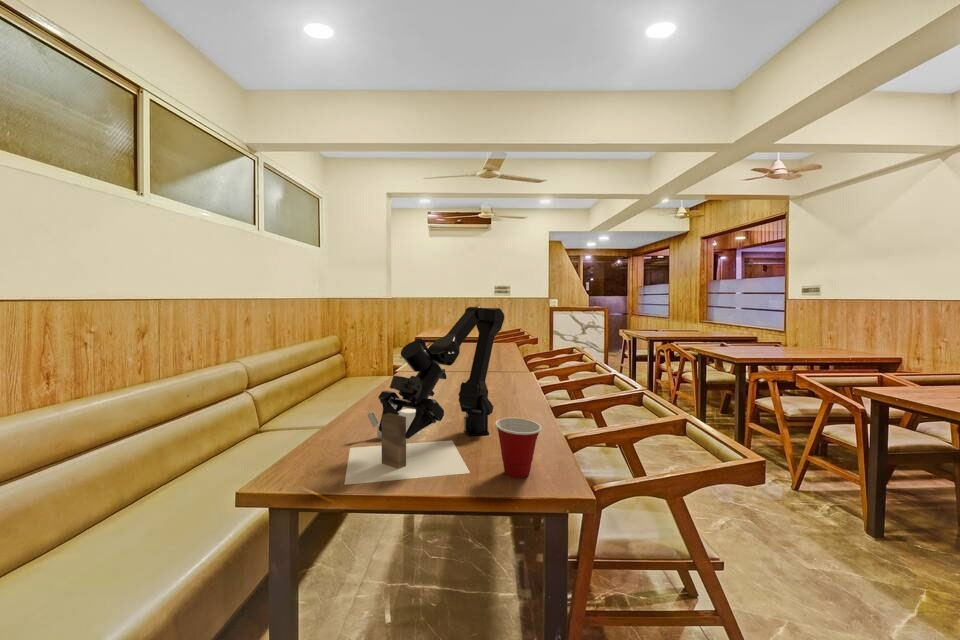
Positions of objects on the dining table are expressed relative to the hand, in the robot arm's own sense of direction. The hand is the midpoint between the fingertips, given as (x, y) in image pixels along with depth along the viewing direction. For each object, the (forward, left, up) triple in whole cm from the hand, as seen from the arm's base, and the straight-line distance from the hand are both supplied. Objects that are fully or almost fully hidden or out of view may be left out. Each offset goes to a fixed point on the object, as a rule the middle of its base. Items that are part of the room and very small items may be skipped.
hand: (392, 434), depth 104 cm
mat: (-3, -3, -8) cm, 9 cm away
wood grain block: (0, 0, -8) cm, 8 cm away
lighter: (+3, -22, -8) cm, 24 cm away
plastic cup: (-28, +11, -8) cm, 31 cm away
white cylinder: (-6, -26, -8) cm, 28 cm away
